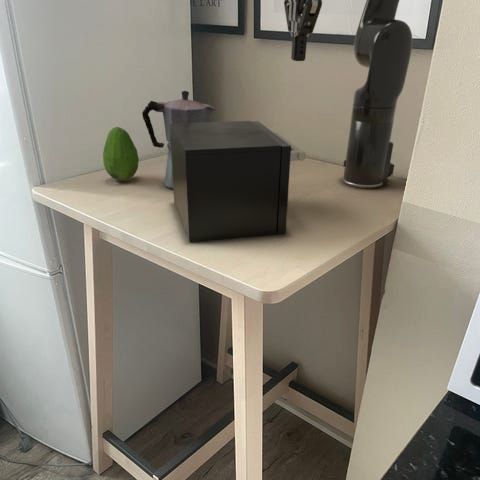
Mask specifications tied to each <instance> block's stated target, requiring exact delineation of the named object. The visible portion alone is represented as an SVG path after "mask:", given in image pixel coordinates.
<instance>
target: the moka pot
mask: <svg viewBox="0 0 480 480" xmlns="http://www.w3.org/2000/svg"><path fill="white" fill-rule="evenodd" d="M189 95H190V92H189V91H188V90H182V91H181V97H182V98H181V99H176V100H170V101H166V102H164V101H158V102H157V101H155V100H150V101H149V102H148V103H147V105H146V106H145V107H144V109H143V110H142V113H141V115H142V119H143V121H144V123H145V127H146V129H147V131H148V135H149V138H150V140H151V144H152V146H153V147H154V148H159V149H161V148H164V147H165V146H164V145H165V143H164V142H159V141H158V140H157V137H156V135H155V131H154V128H153V123H152V121H151V118H150V116H149V114H150V112H152V111H154V112H156V113H162V116H163V124H164V129H165V130H164V132H165V138H166V141H167V142H168V143H166V146H167V149H168V152H167V157H166V167H165V175H164V181H163V184H164V186H166V187H167V188H169V189H172V190H173V174H172V157H171V140H170V124H177V123H205V122H209V121H210V119H211V116H212V114H213V112H214V111H216V108H214V107H213V106H212V105H211V104H207V103H201V102H198V101H195V100H192V99H189Z"/></svg>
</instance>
